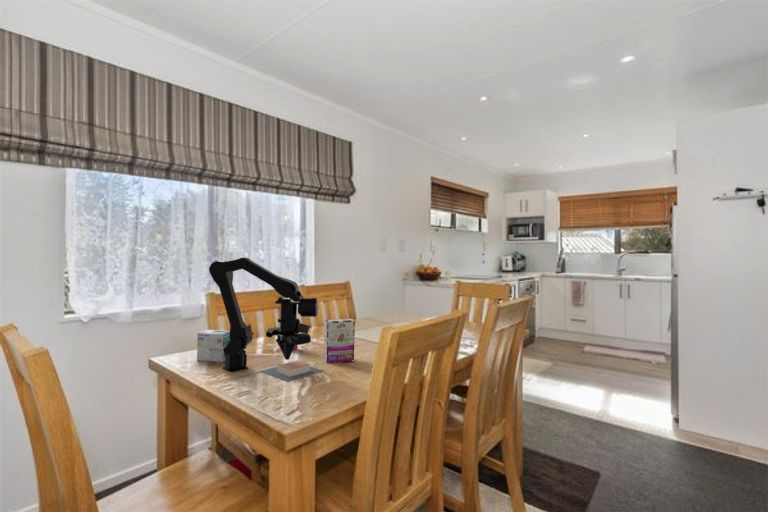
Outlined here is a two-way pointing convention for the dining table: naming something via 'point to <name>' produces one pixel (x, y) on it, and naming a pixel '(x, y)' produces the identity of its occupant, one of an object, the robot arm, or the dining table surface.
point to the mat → (285, 378)
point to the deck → (293, 368)
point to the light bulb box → (212, 345)
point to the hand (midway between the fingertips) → (287, 359)
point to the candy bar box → (339, 340)
